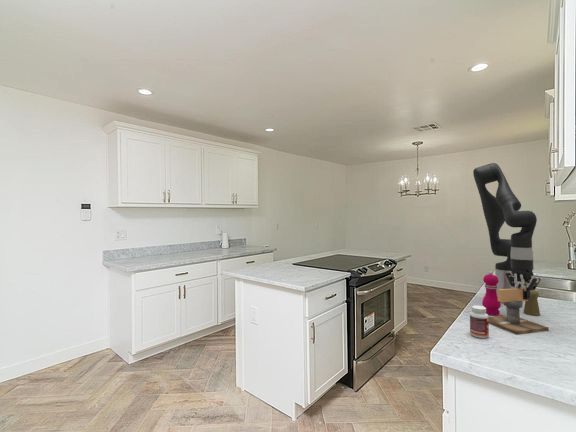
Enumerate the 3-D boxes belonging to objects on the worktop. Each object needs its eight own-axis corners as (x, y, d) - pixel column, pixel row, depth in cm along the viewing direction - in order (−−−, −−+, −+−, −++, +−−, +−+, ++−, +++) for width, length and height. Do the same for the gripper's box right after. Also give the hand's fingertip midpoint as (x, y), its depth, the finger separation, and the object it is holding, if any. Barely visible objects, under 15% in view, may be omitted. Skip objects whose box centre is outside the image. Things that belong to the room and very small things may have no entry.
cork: (526, 315, 136) (525, 291, 136) (521, 311, 142) (521, 288, 142) (542, 316, 134) (542, 292, 134) (537, 312, 140) (536, 289, 140)
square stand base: (510, 317, 134) (510, 299, 134) (548, 330, 119) (548, 310, 119) (481, 320, 131) (481, 302, 131) (516, 334, 115) (515, 314, 115)
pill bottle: (491, 339, 112) (490, 310, 111) (472, 337, 113) (472, 309, 113) (485, 333, 117) (485, 305, 117) (468, 331, 119) (467, 304, 119)
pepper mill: (495, 311, 143) (494, 269, 143) (504, 316, 136) (503, 272, 136) (479, 310, 144) (478, 269, 144) (487, 315, 137) (487, 272, 136)
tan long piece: (493, 304, 127) (493, 286, 127) (519, 302, 129) (519, 285, 129) (506, 308, 121) (505, 290, 121) (532, 307, 122) (532, 289, 122)
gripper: (499, 256, 131) (500, 295, 131) (531, 260, 118) (532, 304, 118) (513, 255, 133) (514, 293, 133) (546, 259, 119) (547, 302, 119)
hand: (522, 298), depth 125 cm, fingers closed on tan long piece, 2 cm apart
